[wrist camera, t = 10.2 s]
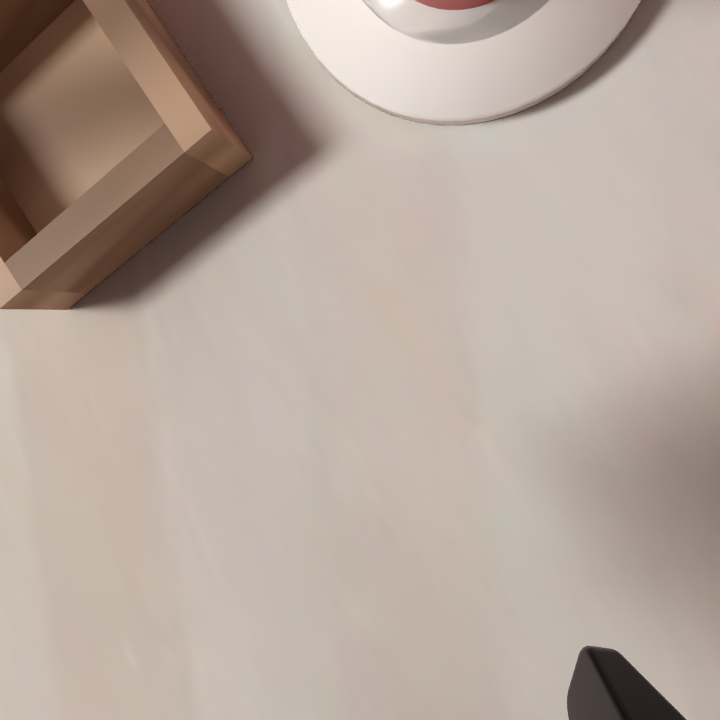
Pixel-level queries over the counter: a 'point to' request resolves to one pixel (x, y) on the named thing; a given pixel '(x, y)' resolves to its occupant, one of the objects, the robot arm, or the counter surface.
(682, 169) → the counter surface
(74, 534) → the counter surface
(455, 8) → the ketchup bottle
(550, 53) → the saucer
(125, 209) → the tray
